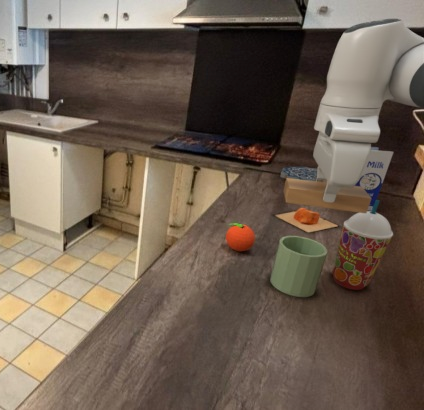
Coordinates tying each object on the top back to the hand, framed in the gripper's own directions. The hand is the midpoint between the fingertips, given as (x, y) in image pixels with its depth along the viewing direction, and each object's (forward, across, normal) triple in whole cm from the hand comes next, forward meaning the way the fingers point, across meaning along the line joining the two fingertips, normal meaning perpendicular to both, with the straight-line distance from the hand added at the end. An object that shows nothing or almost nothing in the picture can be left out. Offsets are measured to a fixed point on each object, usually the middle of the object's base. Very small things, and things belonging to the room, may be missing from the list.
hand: (323, 193), depth 69 cm
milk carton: (+23, -58, +23) cm, 67 cm away
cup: (+22, -1, -1) cm, 22 cm away
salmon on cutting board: (+23, -39, +6) cm, 46 cm away
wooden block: (+2, 0, 0) cm, 2 cm away
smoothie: (+23, -7, +11) cm, 26 cm away
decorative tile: (+23, -83, +12) cm, 87 cm away
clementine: (+23, -13, -13) cm, 29 cm away
